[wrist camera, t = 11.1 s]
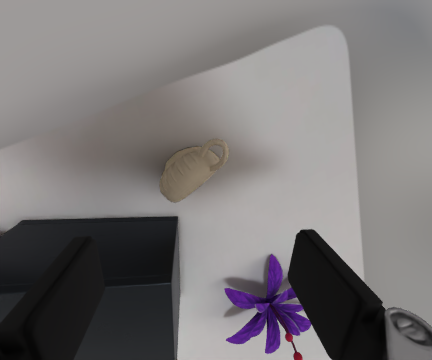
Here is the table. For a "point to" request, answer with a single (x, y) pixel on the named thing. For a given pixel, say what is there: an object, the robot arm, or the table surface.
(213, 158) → the decorative ornament
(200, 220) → the table surface
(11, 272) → the cabinet
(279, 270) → the decorative flower
